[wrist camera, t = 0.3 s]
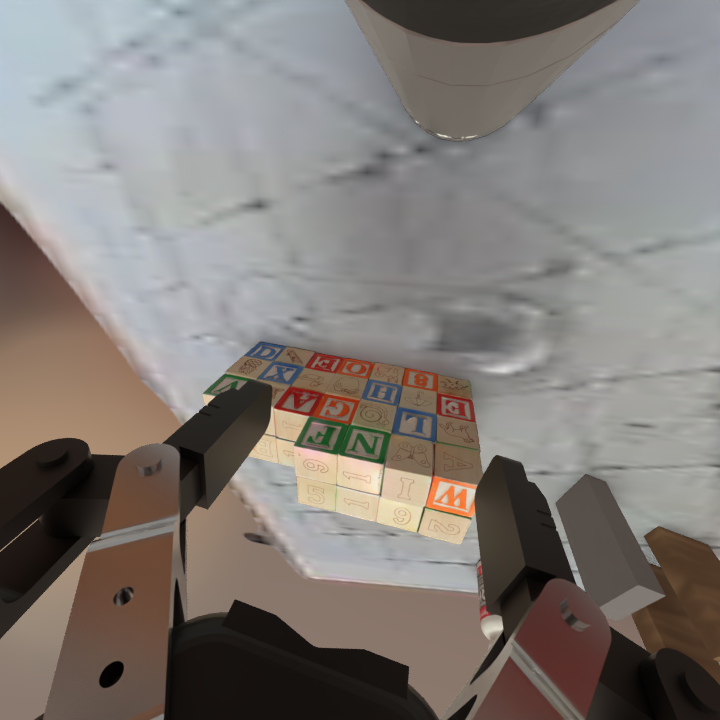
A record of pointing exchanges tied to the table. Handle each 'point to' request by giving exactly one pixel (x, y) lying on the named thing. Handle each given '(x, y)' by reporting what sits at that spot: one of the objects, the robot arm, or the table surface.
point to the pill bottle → (489, 621)
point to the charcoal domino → (606, 550)
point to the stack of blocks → (368, 437)
